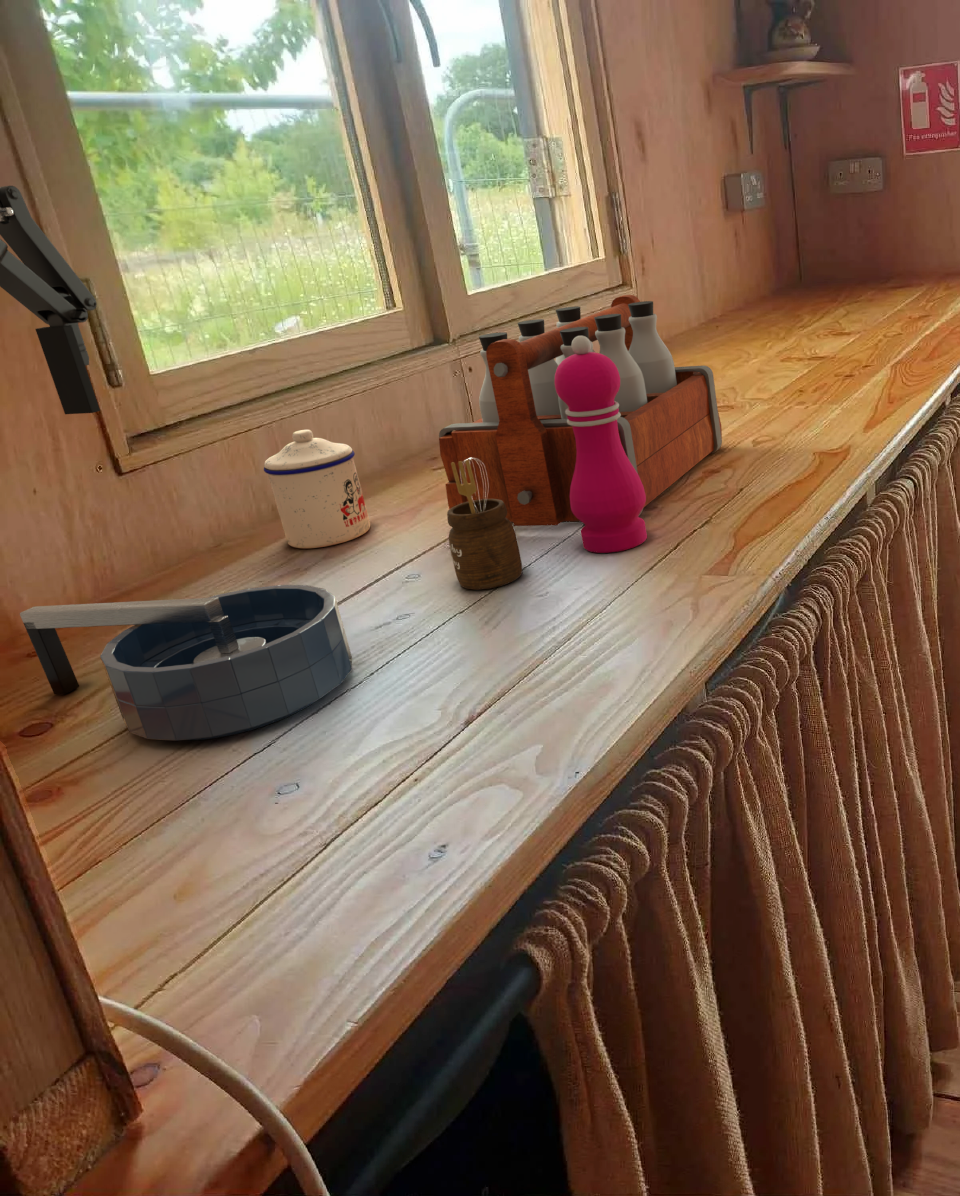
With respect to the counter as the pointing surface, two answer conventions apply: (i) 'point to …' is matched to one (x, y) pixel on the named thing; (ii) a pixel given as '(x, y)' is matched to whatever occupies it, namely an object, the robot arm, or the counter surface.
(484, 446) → the milk bottle holder
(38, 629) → the bent grey beam
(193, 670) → the bowl
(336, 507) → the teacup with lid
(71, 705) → the counter surface
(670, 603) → the counter surface
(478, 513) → the utensil holder
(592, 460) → the pepper mill
